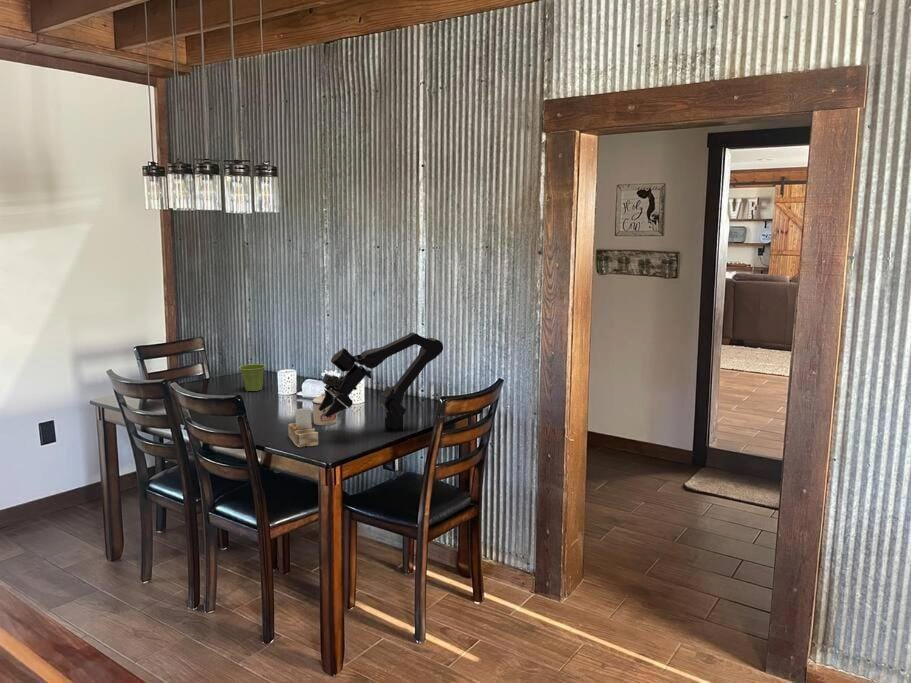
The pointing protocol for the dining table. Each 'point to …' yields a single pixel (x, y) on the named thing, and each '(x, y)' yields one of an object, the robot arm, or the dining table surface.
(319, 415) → the teacup with lid
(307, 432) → the birch rack
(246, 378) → the plant pot
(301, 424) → the aluminium panel
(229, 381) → the dining table surface
